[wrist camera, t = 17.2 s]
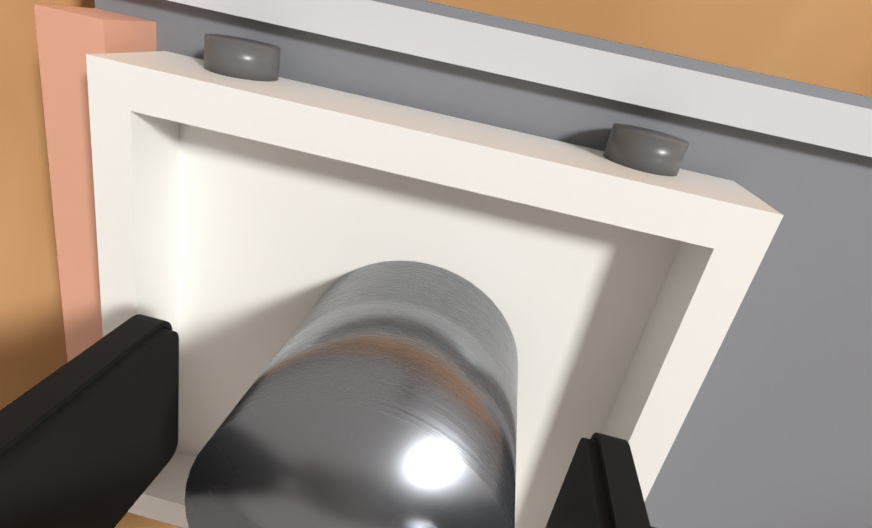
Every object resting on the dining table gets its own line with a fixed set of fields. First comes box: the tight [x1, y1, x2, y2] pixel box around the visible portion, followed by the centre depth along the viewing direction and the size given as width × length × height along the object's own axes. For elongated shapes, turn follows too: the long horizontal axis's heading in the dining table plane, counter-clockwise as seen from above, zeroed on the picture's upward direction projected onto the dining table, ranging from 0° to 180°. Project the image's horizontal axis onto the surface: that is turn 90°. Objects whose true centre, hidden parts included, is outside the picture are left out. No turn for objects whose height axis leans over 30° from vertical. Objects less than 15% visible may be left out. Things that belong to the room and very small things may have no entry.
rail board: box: [34, 0, 872, 528], centre depth 13 cm, size 25×15×3 cm, turn 79°
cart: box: [86, 34, 784, 528], centre depth 12 cm, size 12×12×2 cm
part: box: [185, 260, 518, 528], centre depth 10 cm, size 5×5×5 cm
